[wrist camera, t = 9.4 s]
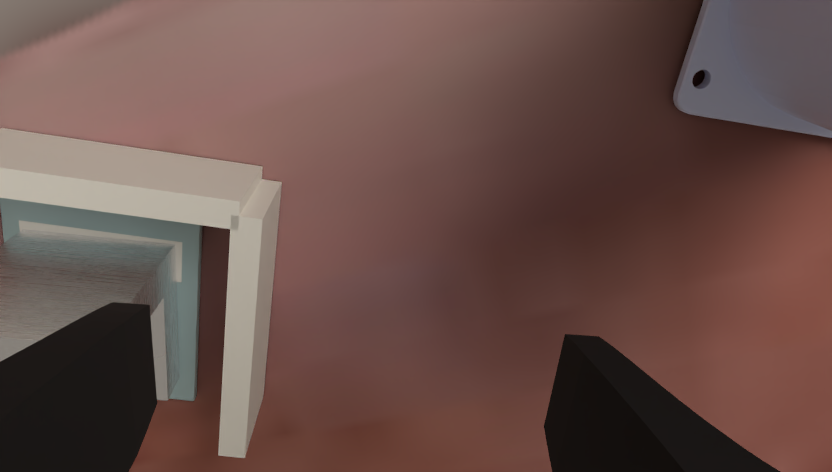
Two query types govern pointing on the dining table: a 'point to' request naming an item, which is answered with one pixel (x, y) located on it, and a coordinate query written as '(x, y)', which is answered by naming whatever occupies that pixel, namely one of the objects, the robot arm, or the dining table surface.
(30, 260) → the bracket
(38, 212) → the mat
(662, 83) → the dining table surface
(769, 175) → the dining table surface
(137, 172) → the cream l-shaped piece
